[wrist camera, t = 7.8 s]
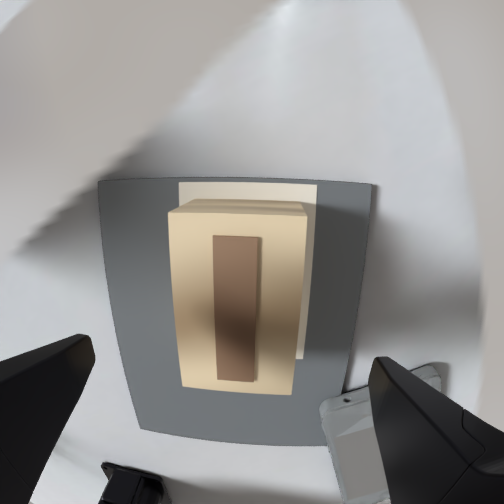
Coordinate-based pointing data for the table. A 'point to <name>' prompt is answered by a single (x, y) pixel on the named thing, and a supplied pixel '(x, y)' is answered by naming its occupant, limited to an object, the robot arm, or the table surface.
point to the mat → (162, 310)
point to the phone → (359, 442)
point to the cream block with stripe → (237, 292)
